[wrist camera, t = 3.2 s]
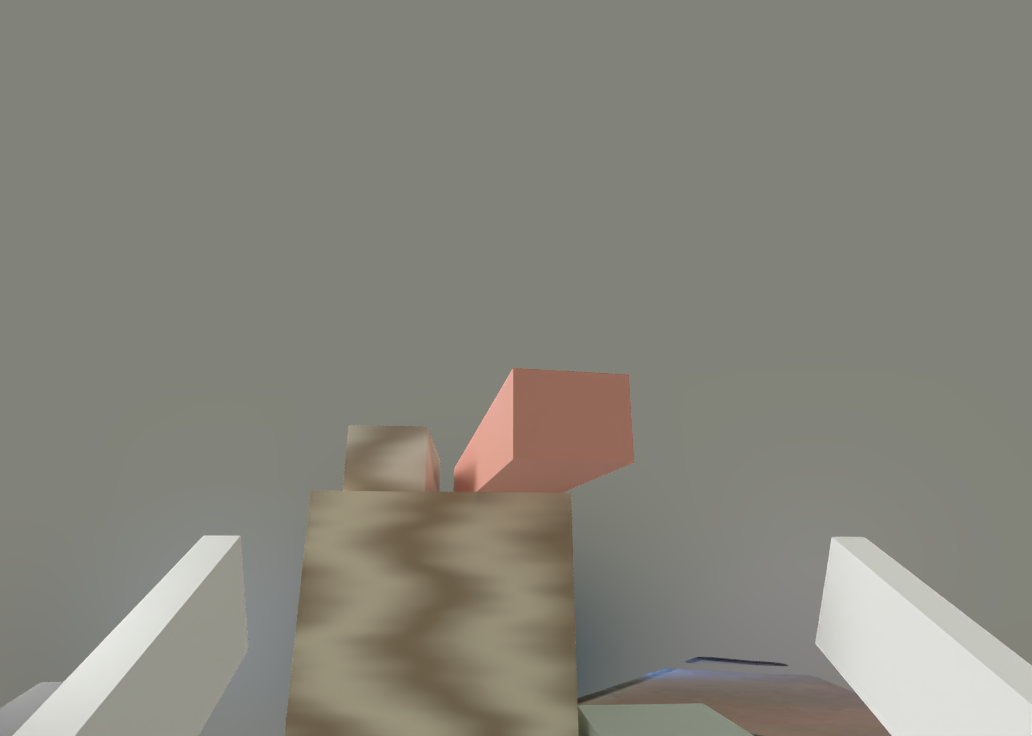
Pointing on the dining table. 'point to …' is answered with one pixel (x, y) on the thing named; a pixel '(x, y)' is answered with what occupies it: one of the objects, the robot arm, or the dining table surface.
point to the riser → (654, 721)
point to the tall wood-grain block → (432, 603)
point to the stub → (549, 433)
